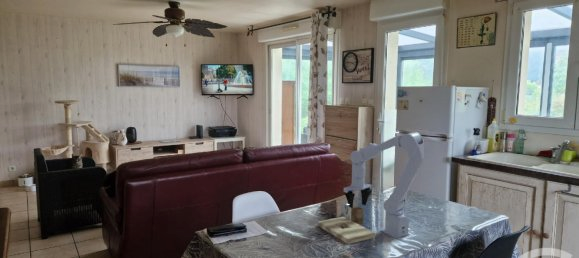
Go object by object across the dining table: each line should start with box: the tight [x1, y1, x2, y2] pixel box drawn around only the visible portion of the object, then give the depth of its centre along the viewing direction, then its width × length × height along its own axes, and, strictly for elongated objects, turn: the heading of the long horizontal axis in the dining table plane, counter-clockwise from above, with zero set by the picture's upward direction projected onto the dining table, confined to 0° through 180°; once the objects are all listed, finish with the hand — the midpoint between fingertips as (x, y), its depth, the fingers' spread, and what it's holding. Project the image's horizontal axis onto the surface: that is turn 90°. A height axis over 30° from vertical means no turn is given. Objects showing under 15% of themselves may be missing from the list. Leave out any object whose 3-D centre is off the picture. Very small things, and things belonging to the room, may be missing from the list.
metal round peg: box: [338, 201, 351, 220], centre depth 177 cm, size 5×5×7 cm
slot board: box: [317, 217, 376, 245], centre depth 160 cm, size 22×14×2 cm, turn 28°
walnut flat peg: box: [350, 205, 364, 226], centre depth 170 cm, size 5×3×7 cm, turn 28°
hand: (357, 205), depth 170 cm, fingers open, 7 cm apart
